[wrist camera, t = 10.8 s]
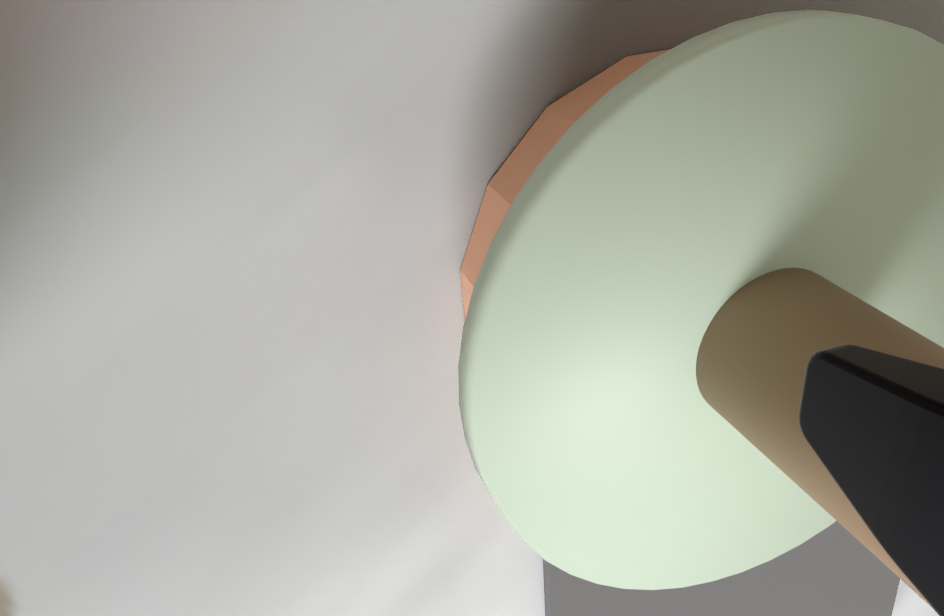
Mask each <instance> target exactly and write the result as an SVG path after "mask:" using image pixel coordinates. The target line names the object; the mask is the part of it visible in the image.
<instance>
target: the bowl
mask: <svg viewBox="0 0 944 616" xmlns="http://www.w3.org/2000/svg"><path fill="white" fill-rule="evenodd" d="M668 50H670V49H668ZM668 50H662V51H656V52H650V53H644V54H638V55H632V56H626V57H625V58H623V59H621V60H620V61H618V62H617V63H615V64H614V65H612V66H610V67H609V68H607V69H606V70H604V71H603V72H601V73H599V74H598V75H596V76H595V77H593V78H592V79H590V80H588V81H587V82H585V83H584V84H582V85H581V86H579V87H577V88H576V89H574V90H573V91H571V92H570V93H568V94H566V95H565V96H563V97H562V98H560V99H559V100H557V101H555V102H554V103H552V104H551V105H549V106H548V107H546V109H545V110H544V111H543V113H542V114H541V115H540V117H539V118H538V119H537V120H536V122H535V123H534V124H533V126H532V127H531V128H530V130H529V131H528V132H527V133H526V135H525V136H524V137H523V139H522V140H521V141H520V143H519V144H518V145H517V146H516V148H515V149H514V150H513V152H512V153H511V154H510V156H509V157H508V158H507V160H506V161H505V162H504V163H503V165H502V166H501V167H500V169H499V170H498V171H497V173H496V174H495V175H494V176H493V178H492V179H491V180H490V182H489V183H488V185H487V188H486V191H485V194H484V197H483V200H482V203H481V207H480V210H479V213H478V216H477V219H476V222H475V226H474V229H473V232H472V235H471V238H470V241H469V245H468V248H467V251H466V254H465V257H464V260H463V263H462V267H461V270H460V272H461V284H462V295H463V307H464V318H465V319H466V315H467V311H468V307H469V303H470V299H471V295H472V292H473V288H474V284H475V282H476V279H477V277H478V274H479V272H480V269H481V266H482V264H483V261H484V259H485V256H486V254H487V251H488V249H489V246H490V244H491V242H492V240H493V238H494V236H495V234H496V232H497V230H498V228H499V227H500V225H501V223H502V221H503V219H504V217H505V215H506V214H507V212H508V210H509V208H510V206H511V204H512V202H513V201H514V199H515V198H516V196H517V195H518V193H519V192H520V190H521V189H522V188H523V186H524V185H525V183H526V182H527V180H528V179H529V177H530V176H531V175H532V173H533V172H534V170H535V169H536V167H537V166H538V164H539V163H540V161H541V160H542V159H543V158H544V157H545V155H546V154H547V153H548V152H549V151H550V150H551V149H552V147H553V146H554V145H555V144H556V143H557V142H558V141H559V139H560V138H561V137H562V136H563V135H564V134H565V133H566V131H567V130H568V129H569V128H570V127H571V126H572V124H573V123H574V122H575V121H576V120H578V119H579V118H580V117H581V116H582V115H583V114H584V113H585V112H586V111H587V110H588V109H590V108H591V107H592V106H593V105H594V104H595V103H596V102H597V101H598V100H599V99H600V98H602V97H603V96H604V95H605V94H606V93H607V92H608V91H609V90H610V89H612V88H613V87H614V86H616V85H617V84H618V83H620V82H621V81H623V80H624V79H625V78H627V77H628V76H630V75H631V74H632V73H634V72H635V71H636V70H638V69H639V68H641V67H642V66H643V65H645V64H646V63H647V62H649V61H650V60H652V59H654V58H656V57H658V56H659V55H661V54H663V53H665V52H667V51H668Z"/></svg>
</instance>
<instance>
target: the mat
mask: <svg viewBox="0 0 944 616" xmlns="http://www.w3.org/2000/svg"><path fill="white" fill-rule="evenodd" d="M543 567H544V591H545V615H546V616H891V615H892V610H893V606H894V602H895V598H896V593H897V589H898V585H899V581H900V578H899V577H898V576H897V575H896V574H895V573H893V572H892V571H891V570H890V569H889V568H888V567H887V566H886V565H885V564H884V563H883V562H881V561H880V560H879V559H878V558H877V557H876V556H875V555H874V554H873V553H872V552H870V551H869V550H868V549H867V548H866V547H865V546H864V545H863V544H862V543H861V542H859V541H858V540H857V539H856V538H855V537H854V536H853V535H852V534H851V533H850V532H848V531H847V530H846V529H845V528H844V527H843V526H842V525H841V524H840V523H839V522H837V521H835V522H834V523H833V524H831V525H830V526H829V527H827V528H826V529H824V530H823V531H821V532H819V533H818V534H816V535H815V536H813V537H812V538H810V539H808V540H807V541H805V542H804V543H802V544H801V545H799V546H797V547H795V548H793V549H791V550H789V551H787V552H785V553H784V554H782V555H780V556H778V557H776V558H774V559H772V560H770V561H768V562H765V563H763V564H760V565H758V566H756V567H753V568H751V569H749V570H746V571H744V572H741V573H738V574H735V575H732V576H728V577H725V578H722V579H719V580H716V581H712V582H708V583H703V584H698V585H693V586H688V587H683V588H672V589H660V590H638V589H622V588H617V587H611V586H606V585H600V584H596V583H593V582H590V581H587V580H584V579H582V578H579V577H576V576H573V575H570V574H569V573H567V572H565V571H563V570H561V569H560V568H558V567H556V566H554V565H552V564H551V563H549V562H547V561H546V560H544V559H543Z"/></svg>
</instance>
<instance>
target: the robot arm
mask: <svg viewBox="0 0 944 616" xmlns="http://www.w3.org/2000/svg"><path fill="white" fill-rule="evenodd" d="M799 424H800V427H801V431H802V433H803V435H804V437H805V439H806V441H807V442H808V444H809V445H810V446H811V448H812V449H813V451H814V452H815V453H816V455H817V456H818V458H819V459H820V461H821V462H822V463H823V465H824V466H825V468H826V469H827V470H828V472H829V473H830V475H831V476H832V478H833V479H834V480H835V482H836V483H837V485H838V486H839V487H840V489H841V490H842V492H843V493H844V495H845V496H846V497H847V499H848V500H849V502H850V503H851V504H852V506H853V507H854V509H855V510H856V512H857V513H858V514H859V516H860V517H861V519H862V520H863V521H864V523H865V524H866V526H867V527H868V529H869V530H870V531H871V533H872V534H873V536H874V537H875V538H876V540H877V541H878V542H879V544H880V545H881V546H882V548H883V549H884V550H885V552H886V553H887V554H888V555H889V557H890V558H891V559H892V560H893V562H894V563H895V564H896V565H897V566H898V568H899V569H900V570H901V571H902V573H903V574H904V575H905V576H906V577H907V578H908V580H909V581H910V582H911V583H912V584H913V585H914V587H915V588H916V589H917V590H918V591H919V592H920V594H921V595H922V596H923V597H924V598H925V599H926V601H927V602H928V603H929V604H930V605H931V606H932V608H933V609H934V610H935V611H936V612H937V613H938V615H939V616H944V369H943V368H940V367H936V366H932V365H928V364H924V363H921V362H917V361H913V360H909V359H905V358H902V357H898V356H894V355H890V354H886V353H883V352H879V351H875V350H871V349H867V348H864V347H860V346H856V345H851V344H846V345H840V346H836V347H832V348H829V349H825V350H821V351H818V352H816V353H815V354H813V355H812V356H811V358H810V360H809V361H808V364H807V368H806V374H805V380H804V386H803V392H802V398H801V404H800V411H799Z"/></svg>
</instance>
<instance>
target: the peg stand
mask: <svg viewBox="0 0 944 616" xmlns="http://www.w3.org/2000/svg"><path fill="white" fill-rule="evenodd" d="M846 344H851V345H856V346H860V347H864V348H867V349H871V350H875V351H879V352H883V353H886V354H890V355H894V356H898V357H902V358H905V359H909V360H913V361H917V362H921V363H924V364H928V365H932V366H936V367H940V368H943V369H944V44H942V43H940V42H938V41H936V40H935V39H933V38H931V37H929V36H927V35H925V34H923V33H921V32H919V31H917V30H915V29H912V28H908V27H905V26H902V25H898V24H895V23H891V22H888V21H884V20H880V19H875V18H871V17H866V16H861V15H856V14H851V13H846V12H835V11H824V10H814V9H809V10H796V11H783V12H772V13H768V14H763V15H759V16H755V17H751V18H746V19H742V20H738V21H734V22H731V23H728V24H725V25H723V26H720V27H718V28H715V29H713V30H710V31H708V32H705V33H703V34H700V35H698V36H695V37H692V38H690V39H688V40H687V41H685V42H683V43H681V44H679V45H677V46H676V47H674V48H672V49H670V50H668V51H667V52H665V53H663V54H661V55H659V56H658V57H656V58H654V59H652V60H650V61H649V62H647V63H646V64H645V65H643V66H642V67H641V68H639V69H638V70H636V71H635V72H634V73H632V74H631V75H630V76H628V77H627V78H625V79H624V80H623V81H621V82H620V83H618V84H617V85H616V86H614V87H613V88H612V89H610V90H609V91H608V92H607V93H606V94H605V95H604V96H603V97H602V98H600V99H599V100H598V101H597V102H596V103H595V104H594V105H593V106H592V107H591V108H590V109H588V110H587V111H586V112H585V113H584V114H583V115H582V116H581V117H580V118H579V119H578V120H576V121H575V122H574V123H573V124H572V126H571V127H570V128H569V129H568V130H567V131H566V133H565V134H564V135H563V136H562V137H561V138H560V139H559V141H558V142H557V143H556V144H555V145H554V146H553V147H552V149H551V150H550V151H549V152H548V153H547V154H546V155H545V157H544V158H543V159H542V160H541V161H540V163H539V164H538V166H537V167H536V169H535V170H534V172H533V173H532V175H531V176H530V177H529V179H528V180H527V182H526V183H525V185H524V186H523V188H522V189H521V190H520V192H519V193H518V195H517V196H516V198H515V199H514V201H513V202H512V204H511V206H510V208H509V210H508V212H507V214H506V215H505V217H504V219H503V221H502V223H501V225H500V227H499V228H498V230H497V232H496V234H495V236H494V238H493V240H492V242H491V244H490V246H489V249H488V251H487V254H486V256H485V259H484V261H483V264H482V266H481V269H480V272H479V274H478V277H477V279H476V282H475V284H474V288H473V292H472V295H471V299H470V303H469V307H468V311H467V315H466V319H465V322H464V326H463V334H462V342H461V350H460V358H459V406H460V411H461V417H462V423H463V429H464V435H465V439H466V442H467V445H468V448H469V451H470V454H471V456H472V459H473V462H474V465H475V468H476V470H477V472H478V473H479V475H480V477H481V479H482V481H483V482H484V484H485V486H486V488H487V490H488V491H489V493H490V495H491V497H492V498H493V500H494V502H495V503H496V505H497V507H498V508H499V510H500V512H501V513H502V515H503V517H504V518H505V520H506V521H507V523H508V524H509V525H510V526H511V527H512V529H513V530H514V531H515V532H516V533H517V535H518V536H519V537H520V538H521V539H522V541H523V542H524V543H525V544H526V545H527V546H529V547H530V548H531V549H532V550H533V551H535V552H536V553H537V554H538V555H540V556H541V557H542V558H543V559H544V560H546V561H547V562H549V563H551V564H552V565H554V566H556V567H558V568H560V569H561V570H563V571H565V572H567V573H569V574H570V575H573V576H576V577H579V578H582V579H584V580H587V581H590V582H593V583H596V584H600V585H606V586H611V587H617V588H622V589H638V590H660V589H672V588H683V587H688V586H693V585H698V584H703V583H708V582H712V581H716V580H719V579H722V578H725V577H728V576H732V575H735V574H738V573H741V572H744V571H746V570H749V569H751V568H753V567H756V566H758V565H760V564H763V563H765V562H768V561H770V560H772V559H774V558H776V557H778V556H780V555H782V554H784V553H785V552H787V551H789V550H791V549H793V548H795V547H797V546H799V545H801V544H802V543H804V542H805V541H807V540H808V539H810V538H812V537H813V536H815V535H816V534H818V533H819V532H821V531H823V530H824V529H826V528H827V527H829V526H830V525H831V524H833V523H834V522H835V521H837V522H839V523H840V524H841V525H842V526H843V527H844V528H845V529H846V530H847V531H848V532H850V533H851V534H852V535H853V536H854V537H855V538H856V539H857V540H858V541H859V542H861V543H862V544H863V545H864V546H865V547H866V548H867V549H868V550H869V551H870V552H872V553H873V554H874V555H875V556H876V557H877V558H878V559H879V560H880V561H881V562H883V563H884V564H885V565H886V566H887V567H888V568H889V569H890V570H891V571H892V572H893V573H895V574H896V575H897V576H898V577H899V578H900V579H901V580H902V581H903V582H904V583H906V584H907V585H908V586H909V587H910V588H911V589H912V590H913V591H914V592H915V593H917V594H918V595H919V596H920V597H921V598H922V599H923V600H924V601H925V602H926V603H928V602H927V601H926V599H925V598H924V597H923V596H922V595H921V594H920V592H919V591H918V590H917V589H916V588H915V587H914V585H913V584H912V583H911V582H910V581H909V580H908V578H907V577H906V576H905V575H904V574H903V573H902V571H901V570H900V569H899V568H898V566H897V565H896V564H895V563H894V562H893V560H892V559H891V558H890V557H889V555H888V554H887V553H886V552H885V550H884V549H883V548H882V546H881V545H880V544H879V542H878V541H877V540H876V538H875V537H874V536H873V534H872V533H871V531H870V530H869V529H868V527H867V526H866V524H865V523H864V521H863V520H862V519H861V517H860V516H859V514H858V513H857V512H856V510H855V509H854V507H853V506H852V504H851V503H850V502H849V500H848V499H847V497H846V496H845V495H844V493H843V492H842V490H841V489H840V487H839V486H838V485H837V483H836V482H835V480H834V479H833V478H832V476H831V475H830V473H829V472H828V470H827V469H826V468H825V466H824V465H823V463H822V462H821V461H820V459H819V458H818V456H817V455H816V453H815V452H814V451H813V449H812V448H811V446H810V445H809V444H808V442H807V441H806V439H805V437H804V435H803V433H802V431H801V427H800V424H799V411H800V404H801V398H802V392H803V386H804V380H805V374H806V368H807V364H808V361H809V360H810V358H811V356H812V355H813V354H815V353H816V352H818V351H821V350H825V349H829V348H832V347H836V346H840V345H846ZM928 604H929V603H928ZM929 605H930V604H929ZM930 606H931V605H930ZM931 607H932V606H931Z"/></svg>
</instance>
